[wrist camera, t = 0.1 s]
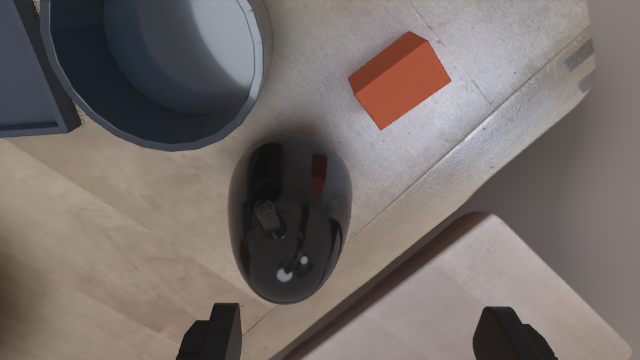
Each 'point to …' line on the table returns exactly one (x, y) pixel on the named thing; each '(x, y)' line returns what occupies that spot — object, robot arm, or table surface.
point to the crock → (160, 65)
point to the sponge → (398, 79)
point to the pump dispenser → (288, 216)
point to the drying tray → (29, 78)
